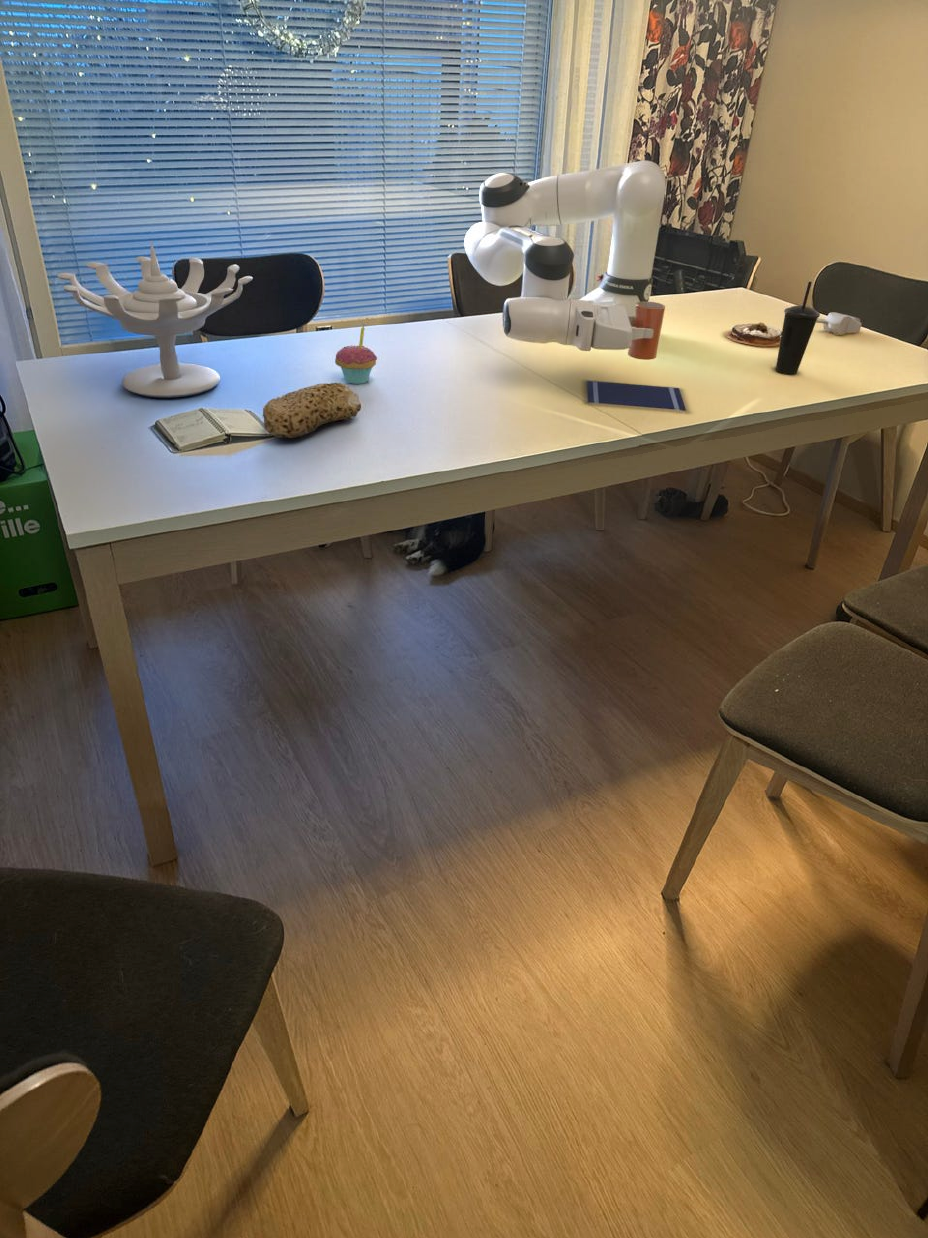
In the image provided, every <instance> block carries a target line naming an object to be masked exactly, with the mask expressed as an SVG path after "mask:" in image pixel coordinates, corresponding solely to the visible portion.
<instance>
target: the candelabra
mask: <svg viewBox="0 0 928 1238" xmlns="http://www.w3.org/2000/svg"><path fill="white" fill-rule="evenodd" d="M155 251H156V250H155V248H154V245H153V242H152V241H150V257H147V256H141V255H140V256H137V257H135V261H137V262H138V263H139V264H140V270H141V278H142V279H141V280H140V281H139V283H138V286H137V288H138V289H136V290H135V291H132V292H131V291H129V290H127V289H125V288H124V287H123V286H121V285H120V283H118V282H117V281H116V280H115V279H114V277H113V275H112V273H111V271H110V268H109V266H108V265H107V264H105V263H102V262H96V261H89V262H87V263H85V264H84V266H86V267H87V268H89V269H92V270H95V273H96V277H97V280H98V282H99V283H100V284H101V285H102V286H103V287H104V288H105V289H106V290H107V291H108V292H109V293H110V294H104V295H103V296H101V295H98V294H96V293H93V292H92V291H90V290H88V289H87V288H85V287H83V286H82V285H81V283H80V282H79V281H78V279H77V276H76V273H71V272H60V273H58V274H56V276H57V278H58V279H60V280H64V281H70V285H68V284H67V285H64V286H62V289H63V290H64V291H65V292H68V293H72V297H73V298H74V300H75V301H76V302H77V303H78V304H79V305H80V306H82V307H84V308H87V309H89V310H90V311H93V312H96V313H98V314H101V315H104V316H107V317H109V318H112V319H114V320H116V321H118V323H119V324H120V326H121V328H122V329H123V330H125V331H126V332H129V333H132V334H137V335H141V336H142V335H144V336H153V337H154V338H155V341H156V343H157V345H158V348H159V361H160V363H157V364H152V365H146V366H143V367H139V368H136V369H133V371H131V372H129V373H127V374H126V375H125V376H124V377H123V378H122V386H123V388H124V389H126V390H127V391H129V392H130V393H133V394H137V395H140V396H144V397H151V398H167V399H168V398H170V399H171V398H181V397H188V396H193V395H194V396H195V395H198V394H202V393H204V392H208V391H210V390H212V389H213V388H215V387H216V386H218V384H219V382H220V380H221V377H220V374H219V373H218V372H217V370H214V369H212V368H211V367H207V366H204V365H202V364H201V365H200V364H195V363H189V362H187V363H186V362H179V360H178V359H179V358H178V354H177V351H176V339H177V335H183V334H188V333H192V332H195V331H197V330H200V329H201V328H203V327H204V325H205V323H206V319H207V318H208V317H209V316H210V315H212V314H214V313H215V312H217V311H219V310H221V309H223V308H225V307H226V306H228V305H230V304H231V303H233V302H234V301H235V300H237V299H239V298H240V297H241V295H242V292H243V285H246V284H248V283H249V282H251V281H253V279H254V278H253V277H252V276H251V275H247V276H243V277H241V278H239V279H238V280H237V288H236V290H235V292H233V291H234V286H235V283H236V274H237V273H238V272H239V270H240V266H239V265H237V264H231V265H229V266H228V267H227V268H226V269H227V274H226V277H225V279H224V280H223V282H222V283H221V284H220V285H218V287H216V288H215V289H213V290H211V291H209V292H207V293H201V292H200V293H199V289H200V287H201V284H202V282H203V280H204V277H205V268H204V261H203V260H202V259H201V258H199V257H195V256H194V257H190V258H189V259H188V261H189V272H188V277H187V279H186V280H185V283H184V285H182V287H181V288H178V284H177V282H176V281H175V280H173V279H172V278H169V277H168V276H167V274H164V273H162V271H161V269H160V265H159V262H158V261H159V260H158V258H157V255H156V252H155ZM232 292H233V293H232ZM231 293H232V294H231ZM228 294H230V295H228ZM225 295H228V296H227V297H225V298H224V296H225Z"/></svg>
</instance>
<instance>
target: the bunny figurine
mask: <svg viewBox="0 0 928 1238" xmlns="http://www.w3.org/2000/svg"><path fill="white" fill-rule="evenodd" d="M815 324H823V325H822V326H823V330H825V332H826V333H830V332H831V333H833V335H835V336H838V335H843V336H844V335H845V334H846V333H847V334H848V333H850V334H855V333H859V332H860V331H861V327H862V326H863V324H862V322H861V319H860V318H859V317H855V316H851V315H848V314H843V313H839V312H834V311H832V312H831V311H830V312H829V313H828V315H827V316H826V318H825V319H824V318H820V317H818V318H817V321H816V323H815Z"/></svg>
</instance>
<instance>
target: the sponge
mask: <svg viewBox="0 0 928 1238" xmlns="http://www.w3.org/2000/svg"><path fill="white" fill-rule="evenodd" d="M361 409H362V403H361V400H360V397H359V396H358V394H357V393H355V392H354V391H353V390H352V389H351V388H349V387H348V386H347V384H344V383H341V382H330V383H324V382H323V383H318V384H317V383H316V384H314V385H310V386H307V387H303V388H299V389H297V390H293V391H291V392H288V393H286V394H284V395H281V397H280V396H277V397H275V398H271V399H270V400H269V401H267V403H266V404H265V405H264V406H263V408H262V417H263V426H264V428H265V430H266V431H267V432H268V434H270V435H272V436H275V437H278V438H285V439H294V438H299V437H303V436H304V435H307V434H309V433H312V432H314V431H315V430H316V429H317V428H319V427H320V426H321V425H324V424H329V422H335V421H340V420H350V419H352V418H353V417H355V418H356V416H357V415H358V413H360V411H361Z"/></svg>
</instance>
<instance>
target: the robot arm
mask: <svg viewBox="0 0 928 1238" xmlns="http://www.w3.org/2000/svg"><path fill="white" fill-rule="evenodd" d="M666 189H667V179H666V175H665V172H664V171H663V169H662V167H660V165H659V164H657V163H656V162H653V161H651V160H639V161H633V162H627V163H622V164H616V165H611V166H606V167H599V168H595V169H590V170H584V171H576V172H570V173H569V172H568V173H563V174H556V175H555V174H554V175H550V176H545V177H542V178H539V179H535V180H532V181H529V182H527V181H526V180H523V179H522V178H521V177H520V176H518V175H516V174H513V173H510V172H501V173H495V174H493V175H491V176H489V177H487V178H485V180H484V181H483V182H482V183H481V185H480V187H479V204H480V206H481V207H480V208H481V218H482V219H481V220H482V221H480V222H477V223H475V224H473V225H472V226H471V227H470V228H469V229H468V231H467V232H466V234H465V237H464V243H463V245H464V249H465V254H466V256H467V258H468V260H469V262H470V264H471V265H472V267H473V268H474V270H475V271H476V272H477V273H478V274H479V275H480V276H481V278H483V279H484V281H486V282H487V283H489V284H491V285H494V286H498V287H502V286H507V285H510V284H513V283H514V282H516V281H517V280H519V278H520V277H521V276H522V284H521V295H519V296H517V297H509V298H506V300H505V301H504V304H503V306H502V307H503V308H502V330H503V333H504V335H505V337H507V338H509V339H513V340H515V341H520V342H525V343H533V344H545V345H546V344H548V343H556V344H559V345H562V346H570V347H571V346H572V347H575V348H576V349H578V350H579V351H582V352H590V351H591V350H592V349H595V350H606V351H607V350H608V351H614V350H615V351H618V350H620V351H621V350H622V351H623V350H627V349H629V348H630V346H631V340H636V339H642V338H652V337H653V332H654V331H653V328H651V327H644V328H636V327H632V325H633V318H634V312H635V306H636V303H637V302H643V301H648V302H650V298H651V293H652V288H653V287H652V285H653V276H652V274H653V268H654V262H655V257H656V252H657V251H656V250H657V246H658V245H657V244H658V239H659V238H658V237H659V232H660V225H661V220H662V213H663V209H664V208H663V207H664V201H665V197H666V196H665V195H666ZM608 218H613V221H612V229H611V230H612V231H611V241H610V248H609V255H608V262H607V271H606V272H604V273H602V274H600V275H598V276H596V278H597V279H596V282H599V284H598V286H597V287H596V288H595V289H592V291H590V292H588V293H587V294H585V295H584V296H583V297H579V299H573V298H568V295H569V286H570V278H571V272H572V268H573V263H574V258H575V253H574V250H573V248H572V247H571V245H569V243H568V241H566V240H565V239H563V238H560V237H556V236H552V235H546V234H544V233H542V232H539V231H537V230H535V229H532V227H556V226H557V227H558V226H565V225H573V224H581V223H589V222H596V221H599V220H603V219H608Z"/></svg>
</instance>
